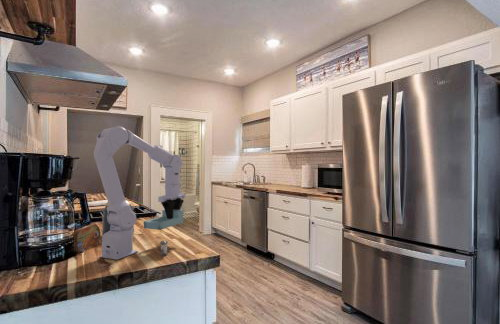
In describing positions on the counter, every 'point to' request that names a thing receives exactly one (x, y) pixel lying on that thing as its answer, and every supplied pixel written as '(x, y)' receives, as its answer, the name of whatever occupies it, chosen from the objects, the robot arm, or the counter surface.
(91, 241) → the tin
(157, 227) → the link
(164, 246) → the peg
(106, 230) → the canister
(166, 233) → the counter surface
